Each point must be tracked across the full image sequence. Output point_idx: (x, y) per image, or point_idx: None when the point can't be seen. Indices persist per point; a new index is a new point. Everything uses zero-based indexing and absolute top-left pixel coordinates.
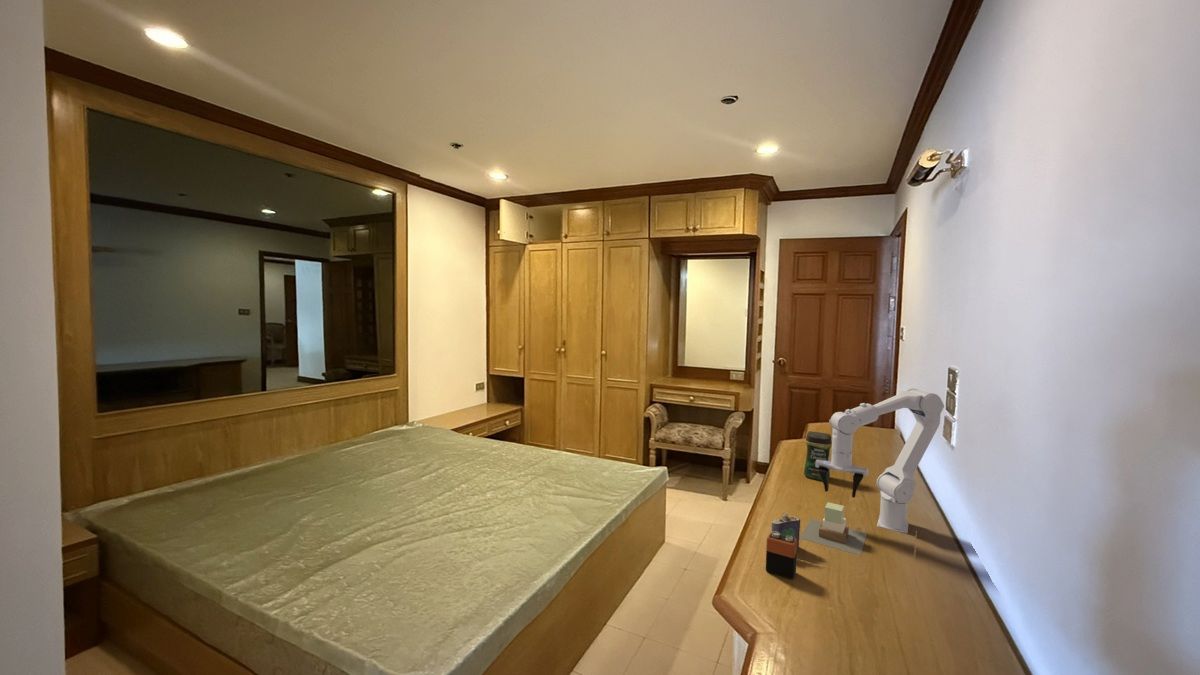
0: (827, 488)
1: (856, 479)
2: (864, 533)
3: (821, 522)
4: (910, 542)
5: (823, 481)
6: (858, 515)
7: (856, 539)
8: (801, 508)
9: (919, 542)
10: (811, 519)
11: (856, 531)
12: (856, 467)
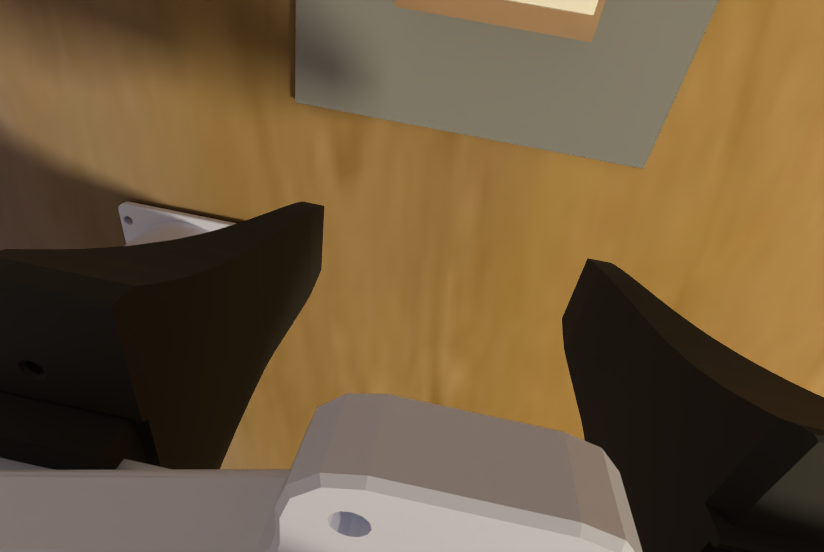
0: (591, 289)
1: (85, 267)
2: (308, 82)
3: (574, 137)
4: (85, 100)
5: (694, 327)
6: (355, 332)
7: None
8: None
9: (53, 125)
10: (640, 157)
11: (355, 92)
12: None
